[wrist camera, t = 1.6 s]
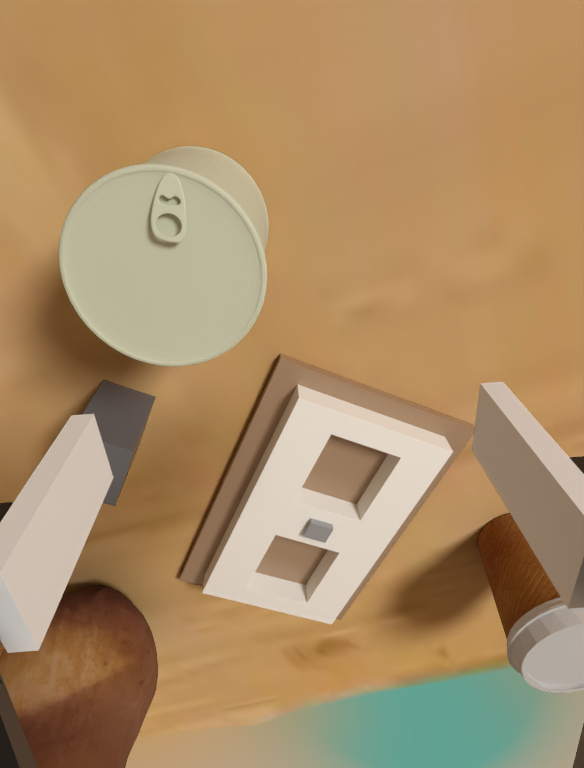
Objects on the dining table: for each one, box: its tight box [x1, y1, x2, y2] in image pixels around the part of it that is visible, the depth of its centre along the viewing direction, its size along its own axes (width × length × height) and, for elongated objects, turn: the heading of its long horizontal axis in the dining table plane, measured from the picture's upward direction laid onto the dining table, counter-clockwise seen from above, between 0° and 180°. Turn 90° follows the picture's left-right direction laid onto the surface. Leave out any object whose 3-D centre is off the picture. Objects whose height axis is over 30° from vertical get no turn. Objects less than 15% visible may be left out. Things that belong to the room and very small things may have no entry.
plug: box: [82, 380, 155, 506], centre depth 36 cm, size 4×7×7 cm, turn 157°
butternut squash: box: [0, 586, 158, 768], centre depth 38 cm, size 14×13×25 cm
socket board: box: [179, 354, 474, 624], centre depth 42 cm, size 17×25×3 cm
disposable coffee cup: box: [477, 513, 584, 693], centre depth 42 cm, size 10×10×12 cm
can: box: [59, 146, 269, 367], centre depth 27 cm, size 9×9×12 cm
